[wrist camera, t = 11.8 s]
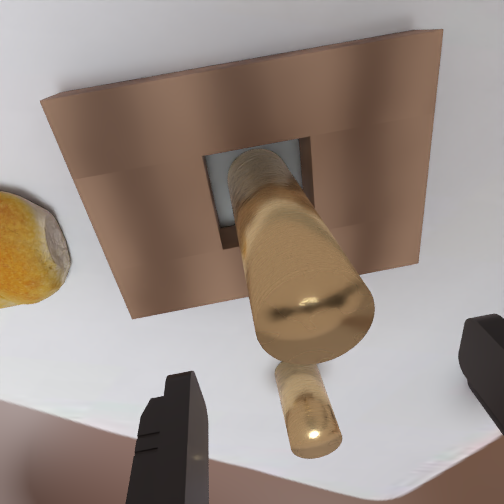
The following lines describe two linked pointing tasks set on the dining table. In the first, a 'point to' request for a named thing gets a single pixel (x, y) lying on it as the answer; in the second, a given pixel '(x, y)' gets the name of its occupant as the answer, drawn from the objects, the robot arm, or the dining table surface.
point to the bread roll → (29, 252)
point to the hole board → (244, 136)
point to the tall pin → (294, 266)
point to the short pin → (307, 411)
